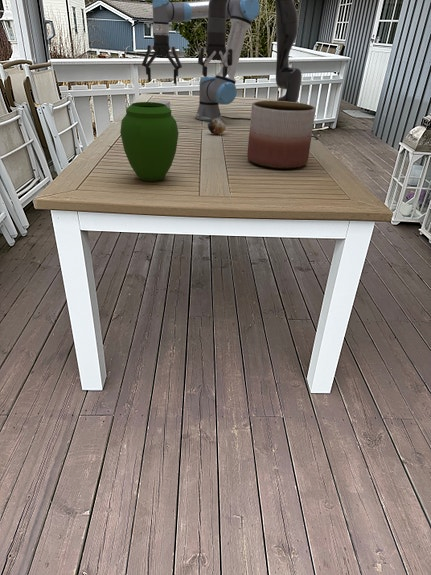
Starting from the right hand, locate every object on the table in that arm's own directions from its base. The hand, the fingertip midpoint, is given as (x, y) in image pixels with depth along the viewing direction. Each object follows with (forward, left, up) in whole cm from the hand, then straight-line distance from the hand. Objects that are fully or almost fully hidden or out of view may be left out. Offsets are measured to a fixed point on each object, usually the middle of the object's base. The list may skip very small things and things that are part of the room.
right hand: (214, 76), depth 171 cm
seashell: (-14, -29, -30) cm, 44 cm away
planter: (-19, +26, -30) cm, 44 cm away
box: (+12, -44, -30) cm, 55 cm away
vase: (+37, +35, -30) cm, 59 cm away
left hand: (+8, -51, -8) cm, 52 cm away
